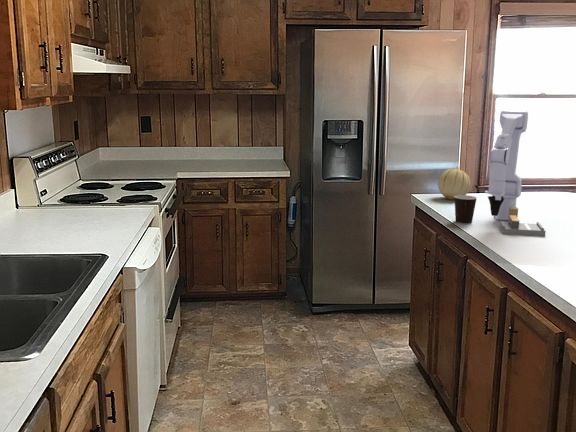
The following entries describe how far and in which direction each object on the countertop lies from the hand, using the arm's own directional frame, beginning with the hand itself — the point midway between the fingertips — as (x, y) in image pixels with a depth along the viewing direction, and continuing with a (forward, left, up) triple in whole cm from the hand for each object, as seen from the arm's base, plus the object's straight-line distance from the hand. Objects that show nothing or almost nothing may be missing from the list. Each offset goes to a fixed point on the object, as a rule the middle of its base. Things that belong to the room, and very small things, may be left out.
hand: (494, 215), depth 244 cm
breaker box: (+1, +10, -6) cm, 12 cm away
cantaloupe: (-59, -12, -6) cm, 60 cm away
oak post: (-9, +8, -6) cm, 13 cm away
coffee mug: (-10, -11, -6) cm, 16 cm away
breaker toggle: (+1, +7, -3) cm, 8 cm away
